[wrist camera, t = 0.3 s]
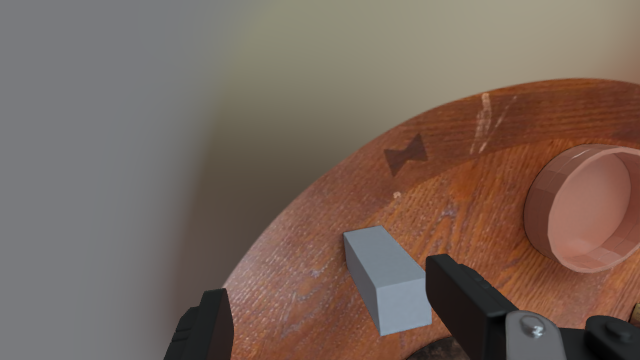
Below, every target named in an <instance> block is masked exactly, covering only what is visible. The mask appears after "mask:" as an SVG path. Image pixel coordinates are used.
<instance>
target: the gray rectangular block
mask: <svg viewBox="0 0 640 360" xmlns="http://www.w3.org/2000/svg"><path fill="white" fill-rule="evenodd" d="M343 236H344V245H345V253H346V261H347V268H348V270H349V272H350V274H351V276H352V278H353V281H354V283H355V285H356V287H357V289H358V291H359V293H360V295H361V297H362V299H363V301H364V303H365V305H366V307H367V309H368V311H369V313H370V315H371V317H372V320H373V322H374V324H375V326H376V328H377V330H378V332H379V334H380V336H384V335H388V334H392V333H396V332H400V331H404V330H409V329H413V328H417V327H421V326H425V325H429V324H432V318H431V305H430V304H429V302H428V299H427V296H426V291H425V274H426V272H425V271H424V270H423V269H422V268H421V267H420V266H419V265H418V264H417V263H416V262H415V261H414V260H413V259H412V258H411V257H410V255H409V254H408V253H407V252H406V251H405V250H404V249H403V248H402V247H401V246H400V245H399V244H398V243H397V242H396V241H395V240H394V238H393V237H392V236H391V235H390V234H389V233H388V232H387V231H386V230H385V229H384V228H383V227H382V226H381V225H380V226H375V227H370V228H365V229H360V230H354V231H349V232H344V233H343Z"/></svg>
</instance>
